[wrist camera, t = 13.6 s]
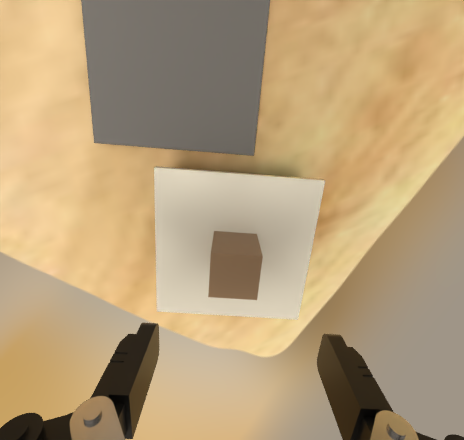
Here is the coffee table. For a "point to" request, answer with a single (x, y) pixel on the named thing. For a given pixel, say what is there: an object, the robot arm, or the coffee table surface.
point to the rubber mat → (176, 72)
